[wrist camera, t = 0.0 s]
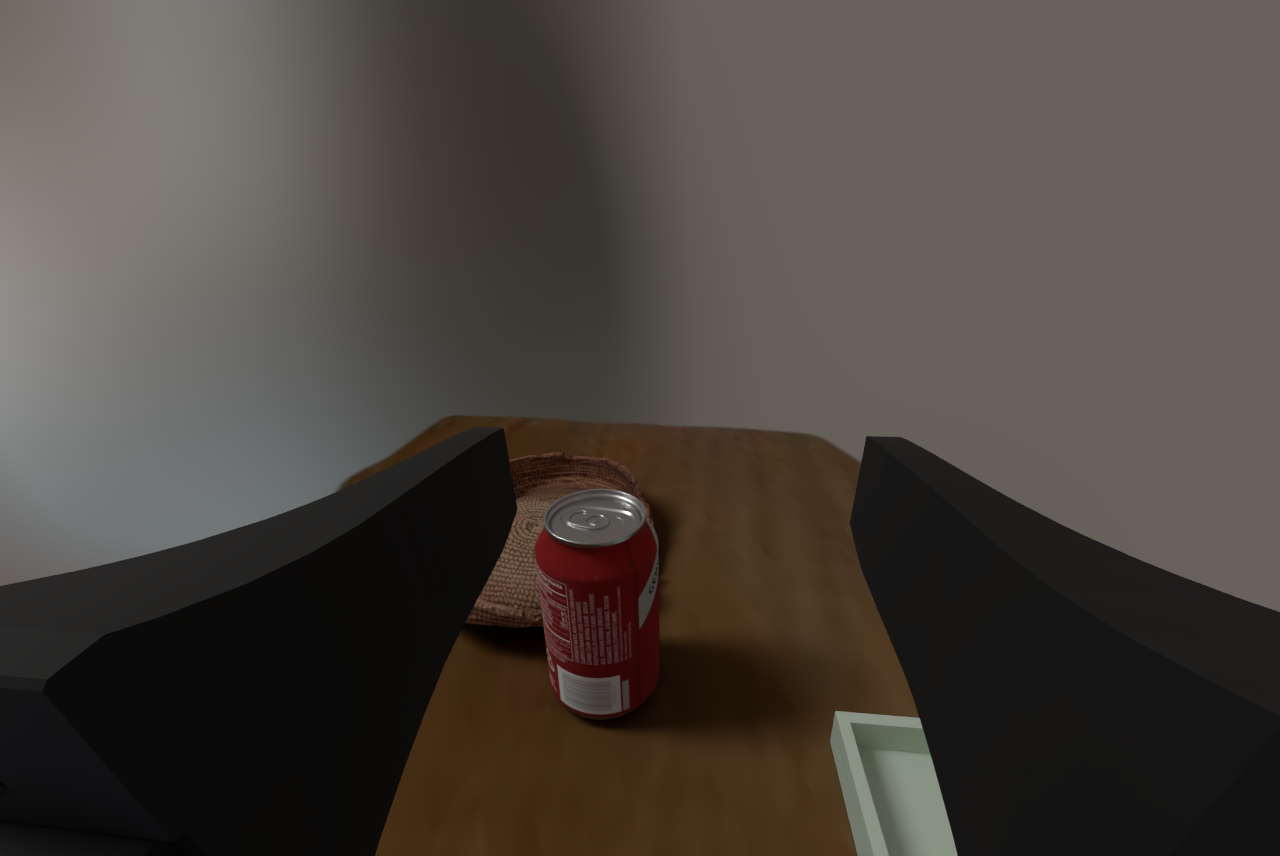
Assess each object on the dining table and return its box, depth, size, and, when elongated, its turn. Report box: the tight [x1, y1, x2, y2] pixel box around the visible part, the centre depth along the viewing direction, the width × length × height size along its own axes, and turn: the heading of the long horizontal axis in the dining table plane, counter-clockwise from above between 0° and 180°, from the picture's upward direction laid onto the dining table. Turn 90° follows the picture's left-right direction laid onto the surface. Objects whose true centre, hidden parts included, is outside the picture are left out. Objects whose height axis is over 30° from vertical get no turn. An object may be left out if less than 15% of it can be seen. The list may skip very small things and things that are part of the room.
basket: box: [465, 452, 655, 628], centre depth 43 cm, size 22×20×5 cm
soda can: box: [535, 489, 660, 720], centre depth 30 cm, size 7×7×12 cm
